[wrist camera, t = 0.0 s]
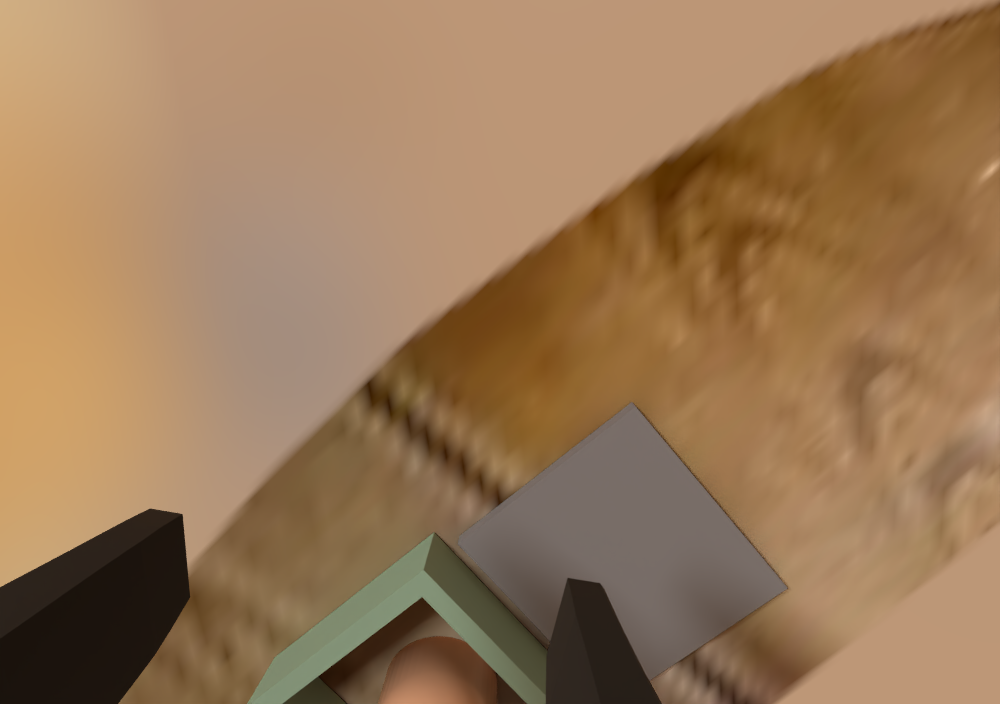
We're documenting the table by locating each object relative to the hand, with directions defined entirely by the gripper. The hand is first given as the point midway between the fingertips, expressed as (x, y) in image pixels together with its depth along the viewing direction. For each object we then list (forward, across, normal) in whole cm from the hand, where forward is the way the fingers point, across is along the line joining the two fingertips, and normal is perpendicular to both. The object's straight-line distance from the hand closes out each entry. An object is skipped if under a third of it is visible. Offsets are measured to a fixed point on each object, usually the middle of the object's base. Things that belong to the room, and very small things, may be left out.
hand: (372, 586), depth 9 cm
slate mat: (+10, -8, +7) cm, 14 cm away
